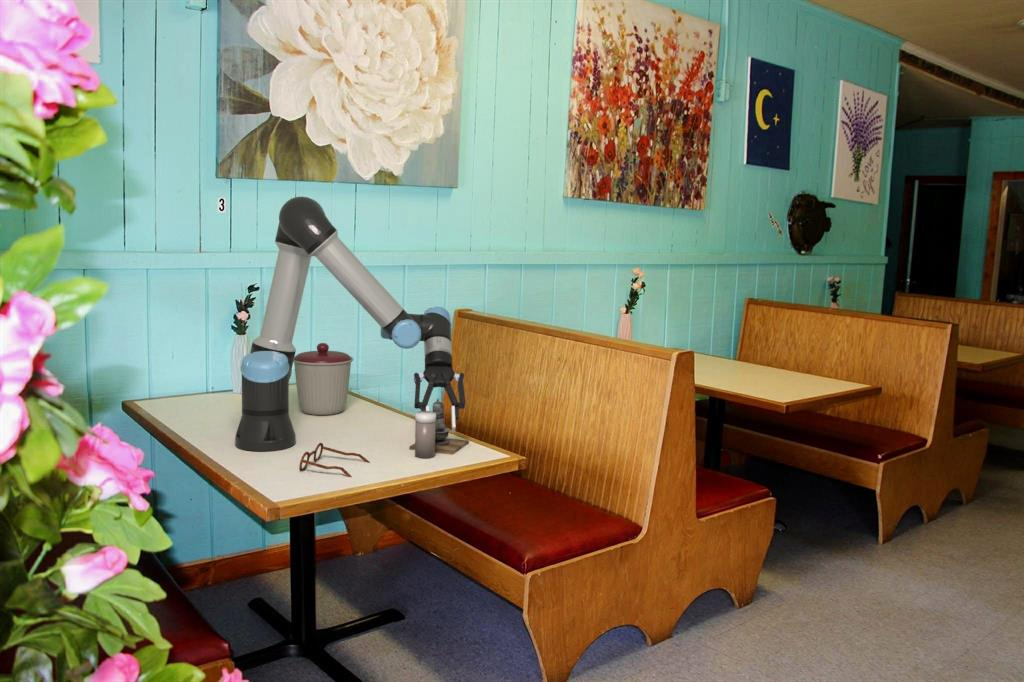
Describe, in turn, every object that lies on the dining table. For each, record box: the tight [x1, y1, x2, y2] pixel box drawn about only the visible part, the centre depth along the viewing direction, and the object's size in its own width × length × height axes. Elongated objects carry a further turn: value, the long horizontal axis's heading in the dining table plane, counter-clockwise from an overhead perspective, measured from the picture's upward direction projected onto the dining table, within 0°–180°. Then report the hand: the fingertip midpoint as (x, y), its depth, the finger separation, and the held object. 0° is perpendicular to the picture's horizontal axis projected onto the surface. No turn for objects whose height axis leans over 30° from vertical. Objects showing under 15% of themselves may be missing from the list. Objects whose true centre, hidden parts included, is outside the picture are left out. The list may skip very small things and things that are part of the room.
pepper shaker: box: [414, 410, 436, 460], centre depth 223 cm, size 5×5×11 cm
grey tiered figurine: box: [432, 398, 451, 446], centre depth 232 cm, size 6×6×12 cm
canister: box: [293, 342, 354, 416], centre depth 267 cm, size 18×18×21 cm
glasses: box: [298, 442, 371, 478], centre depth 211 cm, size 13×13×5 cm
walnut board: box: [408, 437, 470, 455], centre depth 233 cm, size 12×12×1 cm
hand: (440, 429), depth 229 cm, fingers open, 6 cm apart
